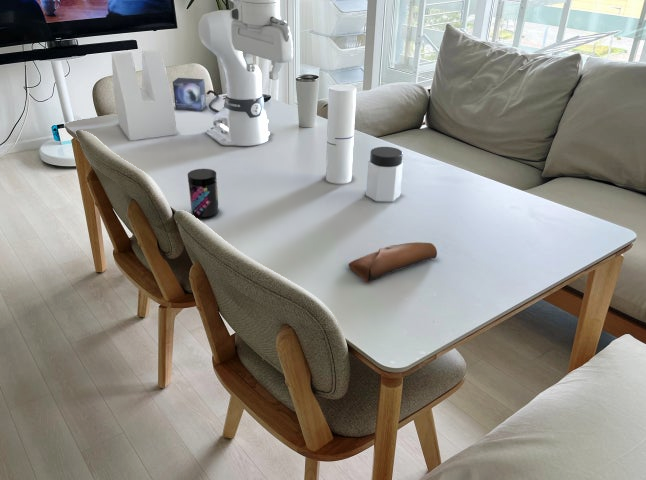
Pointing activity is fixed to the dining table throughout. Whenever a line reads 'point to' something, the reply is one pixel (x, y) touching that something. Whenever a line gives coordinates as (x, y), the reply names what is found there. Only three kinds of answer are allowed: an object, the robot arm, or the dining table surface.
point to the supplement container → (203, 193)
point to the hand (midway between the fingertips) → (262, 75)
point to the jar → (384, 174)
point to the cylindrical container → (340, 133)
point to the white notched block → (143, 96)
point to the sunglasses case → (392, 259)
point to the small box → (189, 94)
